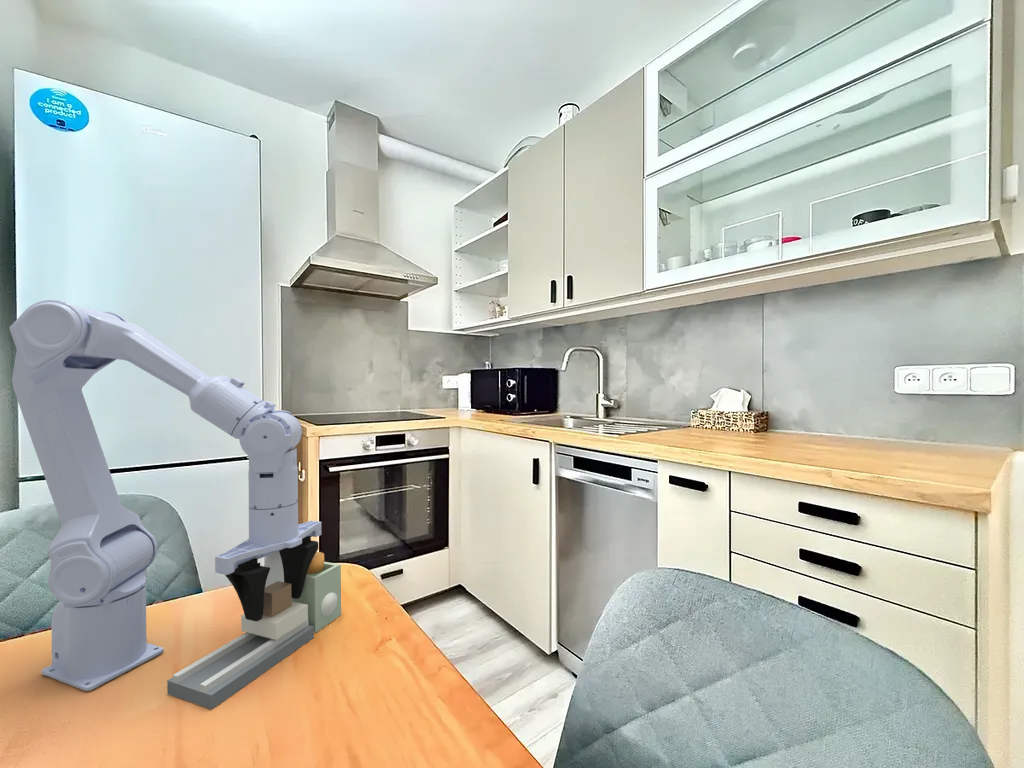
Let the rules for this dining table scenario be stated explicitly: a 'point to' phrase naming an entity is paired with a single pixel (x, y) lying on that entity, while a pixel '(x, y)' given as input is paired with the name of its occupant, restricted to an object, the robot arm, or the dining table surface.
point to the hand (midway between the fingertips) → (274, 607)
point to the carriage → (277, 613)
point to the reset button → (316, 563)
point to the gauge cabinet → (322, 596)
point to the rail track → (234, 666)
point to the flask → (274, 568)
